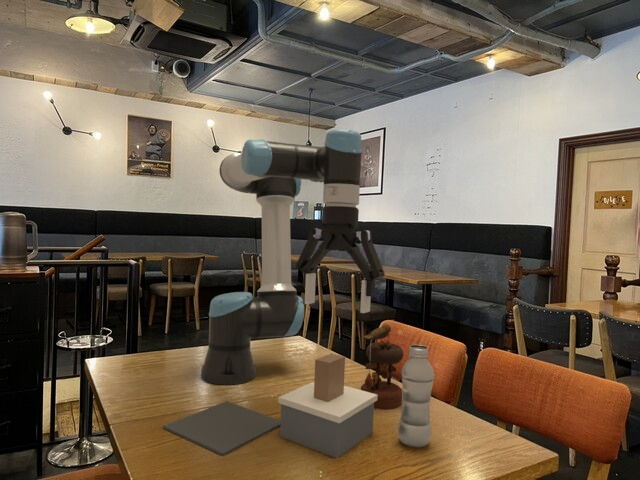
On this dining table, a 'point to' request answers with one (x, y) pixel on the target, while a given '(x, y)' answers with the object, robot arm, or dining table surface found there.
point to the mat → (223, 427)
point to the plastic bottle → (416, 398)
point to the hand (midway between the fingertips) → (336, 307)
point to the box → (326, 430)
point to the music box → (383, 369)
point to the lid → (329, 392)
